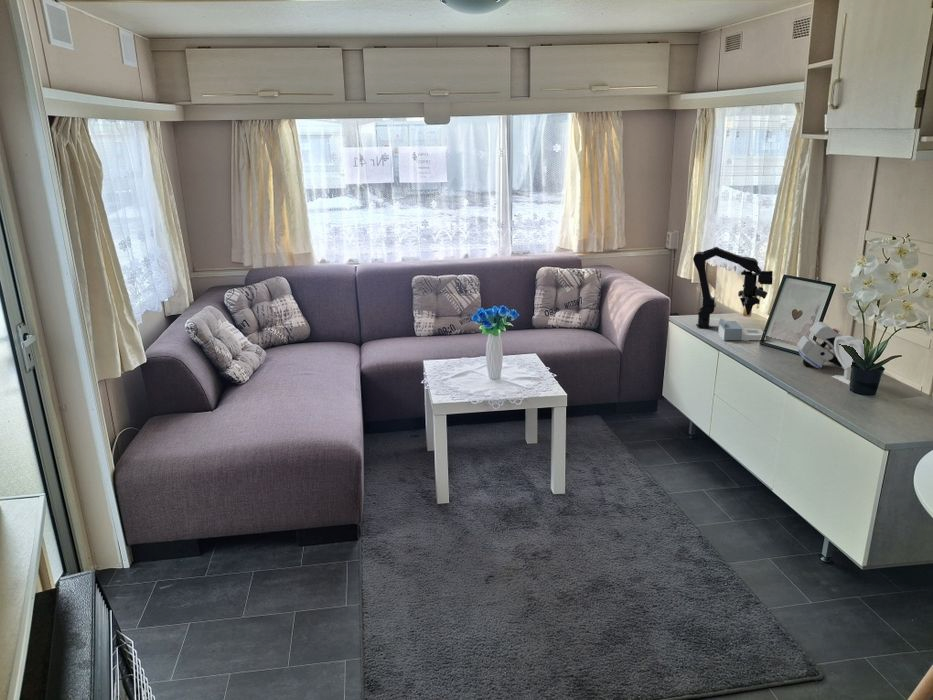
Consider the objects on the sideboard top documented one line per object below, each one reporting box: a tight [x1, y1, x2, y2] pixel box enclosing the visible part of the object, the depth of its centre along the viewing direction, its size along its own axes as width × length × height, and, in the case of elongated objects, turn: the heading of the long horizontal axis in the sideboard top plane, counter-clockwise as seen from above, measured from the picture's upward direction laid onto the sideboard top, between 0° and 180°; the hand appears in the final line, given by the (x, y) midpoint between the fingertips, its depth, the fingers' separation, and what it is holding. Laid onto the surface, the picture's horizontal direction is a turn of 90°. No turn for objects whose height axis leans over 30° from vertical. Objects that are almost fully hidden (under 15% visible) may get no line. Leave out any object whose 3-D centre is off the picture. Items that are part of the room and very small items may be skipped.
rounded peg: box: [742, 305, 753, 318], centre depth 363 cm, size 4×4×5 cm
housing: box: [717, 323, 764, 341], centre depth 352 cm, size 12×20×5 cm, turn 83°
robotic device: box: [796, 321, 845, 370], centre depth 307 cm, size 10×21×20 cm
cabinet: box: [717, 317, 743, 341], centre depth 352 cm, size 14×8×8 cm, turn 173°
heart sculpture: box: [831, 335, 865, 386], centre depth 289 cm, size 16×5×18 cm, turn 12°
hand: (747, 313), depth 363 cm, fingers closed on rounded peg, 4 cm apart
